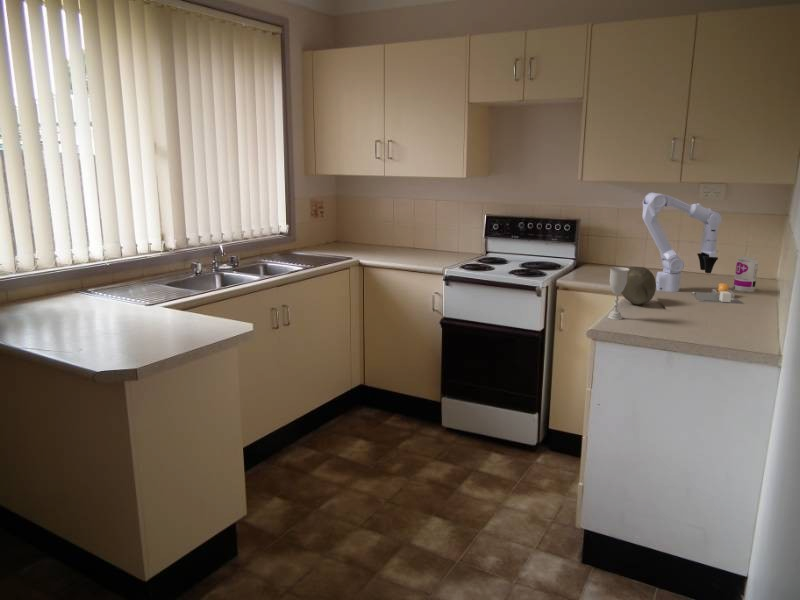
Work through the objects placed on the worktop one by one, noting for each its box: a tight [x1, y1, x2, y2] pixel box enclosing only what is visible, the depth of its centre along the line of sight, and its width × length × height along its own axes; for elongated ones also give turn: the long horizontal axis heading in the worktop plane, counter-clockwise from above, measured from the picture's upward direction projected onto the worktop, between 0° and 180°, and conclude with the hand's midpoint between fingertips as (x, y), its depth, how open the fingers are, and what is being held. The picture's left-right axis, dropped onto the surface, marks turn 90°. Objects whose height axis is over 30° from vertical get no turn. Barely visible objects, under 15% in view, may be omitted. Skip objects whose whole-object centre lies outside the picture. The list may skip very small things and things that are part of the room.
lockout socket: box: [711, 288, 735, 298], centre depth 262 cm, size 7×7×2 cm
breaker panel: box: [689, 291, 744, 305], centre depth 258 cm, size 16×18×2 cm
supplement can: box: [732, 256, 759, 293], centre depth 274 cm, size 8×8×15 cm
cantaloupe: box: [620, 266, 657, 306], centre depth 249 cm, size 14×14×15 cm
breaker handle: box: [719, 291, 731, 302], centre depth 252 cm, size 3×4×4 cm
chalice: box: [607, 266, 629, 321], centre depth 226 cm, size 7×7×18 cm
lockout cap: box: [717, 282, 730, 292], centre depth 262 cm, size 4×4×5 cm
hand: (705, 271), depth 271 cm, fingers open, 7 cm apart
